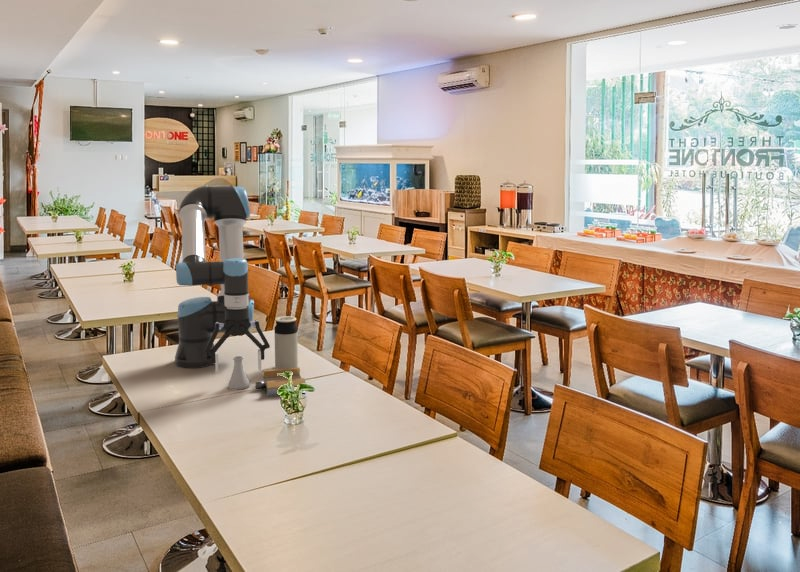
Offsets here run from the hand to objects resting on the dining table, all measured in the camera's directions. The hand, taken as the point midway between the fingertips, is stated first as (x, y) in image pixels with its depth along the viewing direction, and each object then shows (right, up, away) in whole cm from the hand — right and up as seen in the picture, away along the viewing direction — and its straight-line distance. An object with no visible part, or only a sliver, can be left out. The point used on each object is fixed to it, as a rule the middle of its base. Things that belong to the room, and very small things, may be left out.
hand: (238, 371), depth 225 cm
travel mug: (+12, -2, +22) cm, 25 cm away
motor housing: (+13, -6, 0) cm, 14 cm away
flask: (0, -6, +2) cm, 6 cm away
